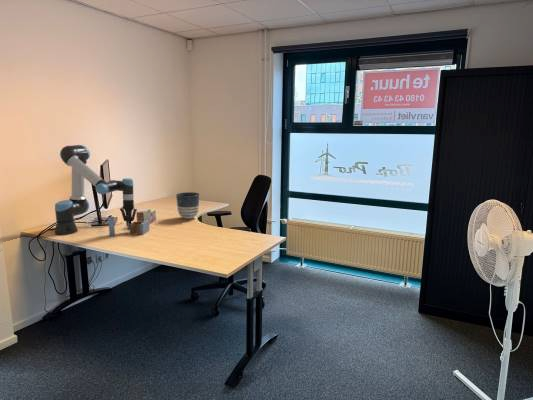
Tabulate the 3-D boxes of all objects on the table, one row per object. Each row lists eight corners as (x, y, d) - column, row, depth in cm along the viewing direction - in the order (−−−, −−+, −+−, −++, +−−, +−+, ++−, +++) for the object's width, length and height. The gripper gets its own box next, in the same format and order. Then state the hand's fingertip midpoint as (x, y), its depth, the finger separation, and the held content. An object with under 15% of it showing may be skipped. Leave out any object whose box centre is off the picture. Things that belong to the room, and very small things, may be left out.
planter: (173, 217, 328) (172, 193, 324) (193, 214, 340) (192, 191, 336) (183, 222, 313) (182, 197, 309) (203, 218, 325) (203, 194, 320)
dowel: (108, 236, 271) (107, 217, 269) (111, 234, 275) (109, 216, 272) (113, 236, 271) (112, 217, 268) (115, 235, 275) (114, 216, 272)
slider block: (129, 233, 278) (129, 224, 277) (134, 230, 287) (134, 221, 286) (141, 234, 277) (140, 225, 276) (146, 230, 286) (145, 222, 285)
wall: (140, 234, 276) (140, 224, 274) (146, 230, 288) (146, 220, 286) (143, 234, 276) (142, 224, 274) (149, 230, 288) (148, 220, 286)
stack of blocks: (149, 220, 319) (148, 206, 317) (156, 220, 318) (155, 206, 316) (137, 226, 298) (136, 211, 296) (144, 227, 297) (143, 212, 295)
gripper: (117, 199, 275) (118, 230, 279) (134, 200, 274) (135, 231, 278) (122, 198, 282) (123, 228, 286) (138, 198, 281) (139, 229, 286)
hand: (129, 229), depth 282 cm, fingers closed
